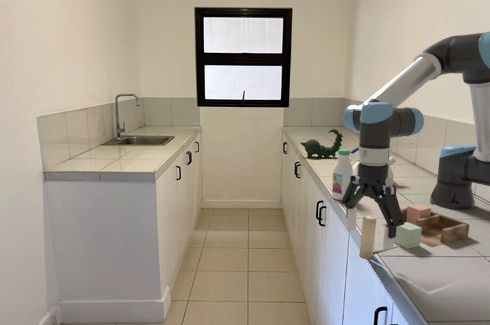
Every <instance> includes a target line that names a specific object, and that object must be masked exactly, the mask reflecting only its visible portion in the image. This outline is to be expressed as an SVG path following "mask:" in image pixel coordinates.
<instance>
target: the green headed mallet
mask: <svg viewBox="0 0 490 325" xmlns="http://www.w3.org/2000/svg"><path fill="white" fill-rule="evenodd" d="M376 225H377V218H376V217H374V216H370V215H369V216H368V215H367V216H366V215H365V216H363V217H362V225H361V236H360V245H359V255H358V256H359V257H360V258H361V259H363V260H371V259H372V258H373V254H374V253H375V254H376V253H379V252H384V251H385V250H384V249H383V248H379V249H375V250H374V248H375V247H374V245H375V237H376V236H375V235H376ZM421 231H422V228H421V227H419V226H416V225H414V224H411V223H409V222H405V223H404V225H401V226H397V229H396V237H395V238H394V242H393V244H396V245H393V248H391V249H390V250H392V249H396V248H400V247H403V248H405V249H406V250H408V249H412V248H416V247H419V246H420V244H421V242H420V238H421Z"/></svg>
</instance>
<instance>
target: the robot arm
mask: <svg viewBox="0 0 490 325" xmlns="http://www.w3.org/2000/svg"><path fill="white" fill-rule="evenodd" d="M447 74H461V75H462V79H463V80H462V81H463V83H464V84H466V85H468V86H469V91H470V98H471V105H472V114H473V120H474V128H475V135H476V136H475V137H476V144H477V146H476V145H475V144H452V145H451V144H450V145H445V146H443V147H442V148H441V149H440V153H439V156H438V169H437V180H436V184H435V186H434V188H433V190H432V192H431V194H430V197H429V202H430V204H431V205H433V206H434V205H435V206H438V207H440V208H445V209H450V210H460V211H462V210H471V209H474V208H475V204H476V200H475V197H474V196H475V195H474V192H473V189H472V185H473V183H474V184H478V185H483V186H487V187H490V31H485V32H477V33H470V34H460V35H451V36H448V37H445V38H443V39H441V40H439V41H437V42H434V43H433V44H432V45H430V46H427V48H426V49H424V50H422V51H421V52H420V53H418V54H417V55H416V56H415V57H414V58H413V61H412V63H411V64H409V65H408V66H407V67H406V68H405V69H404V70H402V71H401V72H400V73H399V74H397V75H396V76H395V77H394V78H393V79H391V80H390V81H389V82H388V83H386V84H384V86H383V87H381V88H380V89H379V90H378V91H376V92H375V93H374V94H373V95H371V96H370V97H369V98H368V99H367V100H365V101H363V102H362V103H361V104H357V103H356V104H351V105H349V106H347V108H346V109H345V111H344V113H343V124H344V125H345V127H346V128H348V129H350V130H354V131H356V132H359V143H358V144H359V145H358V147H359V150H358V157H357V158H358V160H359V161H360V162H359V163H358V175H353V176H351V177H350V183H349V185H348V188H347V190H346V192H345V194H344V196H343V198H342V200H340V201H341V204H342V205H344V206H345V208H346V212H345V213H346V231H347V232H352V231H355V230H356V229H357V216H358V215H357V214H358V208H357V207H356V206H357V204H358V203H359V202H360V201H361V200H362V199H363V198H364V197H368V198H370V199H371V200H373V201H374V203H377V206H378V207H379V209H380V212H381V214H382V217H383V218H384V220H385V222H386V224H388V225H385V226H384V230H383V231H384V232H383V243H382V244H383V246H382V249H384V251H387V250H392V249H394V248H393V246H394V238H395V237H396V229H397V226H401V225H404V219H403V216H402V213H401V209H402V208H401V206H400V204H399V200H398V196H397V187H396V186H395V185H392V186H386V183H385V181H386V179H387V177H388V164H387V163H388V162H389V158H390V147H391V139H393V138H394V139H395V138H400V137H401V138H402V137H410V136H413V135H416V134H418V133H420V132H421V131H422V130H423V127H424V126H425V125H424V123H425V117H424V114H423V113H422V112H421V110H419V109H418V108H416V107H407V106H406V107H399V106H400V105H401V104H403V103H405V102H406V100H408V99H409V98H410V97H411V96H413V95H414V94H415V93H416V92H417V91H419V89H421V88H422V87H423V86H424V85H425V84H427V83H428V82H429V81H434V80H436V79H438V78H439V77H440V76H443V75H447ZM358 160H357V161H358ZM359 185H360V186H359ZM391 248H392V249H391Z"/></svg>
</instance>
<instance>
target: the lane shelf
mask: <svg viewBox="0 0 490 325" xmlns="http://www.w3.org/2000/svg"><path fill="white" fill-rule="evenodd" d="M407 208H408V207H406V208H400V209H401V213H402V216H403V219H404V223H405V222H406V219H407ZM385 225H388V224H387V223H383V224H382V226H383V227H385ZM415 225H416V226H419V227H421V228H422V231H421V238H420V244H424V245H426V246H428V247H431V248H434V247H437V246H441V245H445V244H448V243H451V242H455V241H458V240H462V239H465V238H468V237H469V230H470V225H471V224H470V223H467V222H464V221H461V220H459V219H456V218H452V217H450V216H447V215H443V214H441V213H437V212H435V211H432V210H431V215H430V216H429V217H425V218H421V219H416V224H415Z"/></svg>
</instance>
